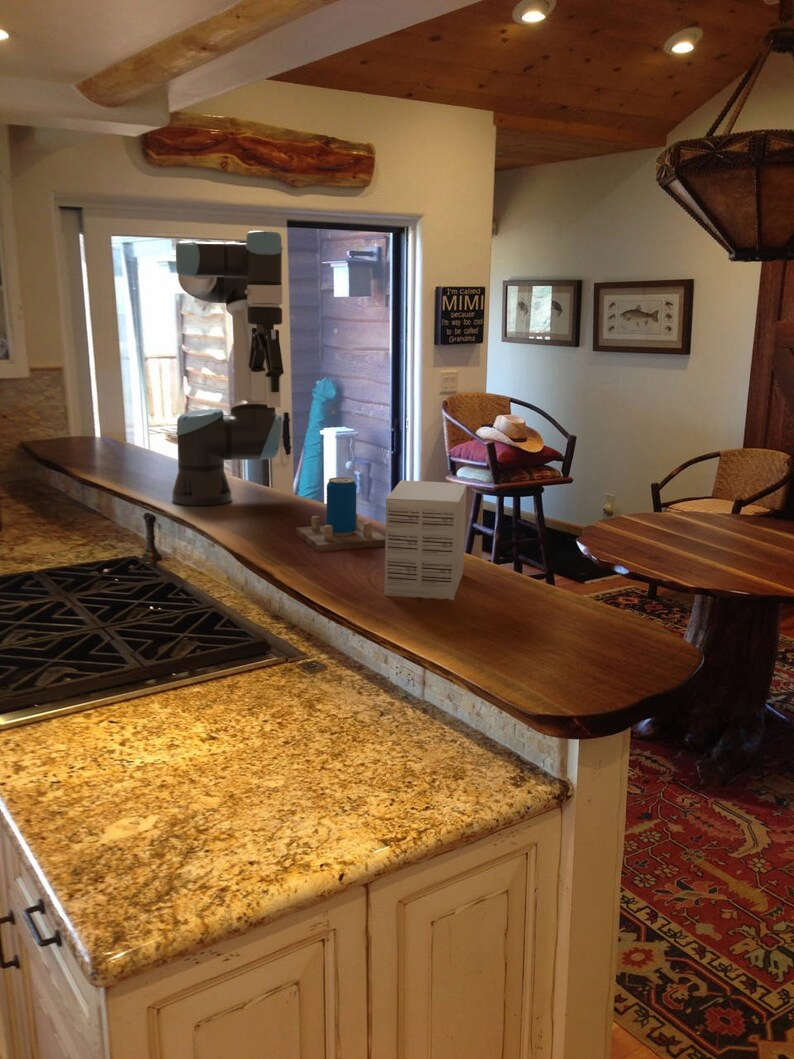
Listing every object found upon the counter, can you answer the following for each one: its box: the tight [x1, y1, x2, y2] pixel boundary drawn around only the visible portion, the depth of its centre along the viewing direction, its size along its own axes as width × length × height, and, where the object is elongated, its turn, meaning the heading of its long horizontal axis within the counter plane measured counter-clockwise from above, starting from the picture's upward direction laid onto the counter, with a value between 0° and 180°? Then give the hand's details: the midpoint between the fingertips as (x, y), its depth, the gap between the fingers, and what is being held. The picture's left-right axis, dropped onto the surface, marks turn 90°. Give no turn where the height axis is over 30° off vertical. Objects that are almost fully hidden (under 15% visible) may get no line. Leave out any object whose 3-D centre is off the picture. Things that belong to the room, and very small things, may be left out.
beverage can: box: [326, 476, 357, 536], centre depth 199 cm, size 6×6×12 cm
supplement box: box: [383, 479, 468, 601], centre depth 168 cm, size 17×13×18 cm
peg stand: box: [295, 513, 386, 553], centre depth 201 cm, size 16×16×4 cm
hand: (265, 404), depth 203 cm, fingers open, 13 cm apart
